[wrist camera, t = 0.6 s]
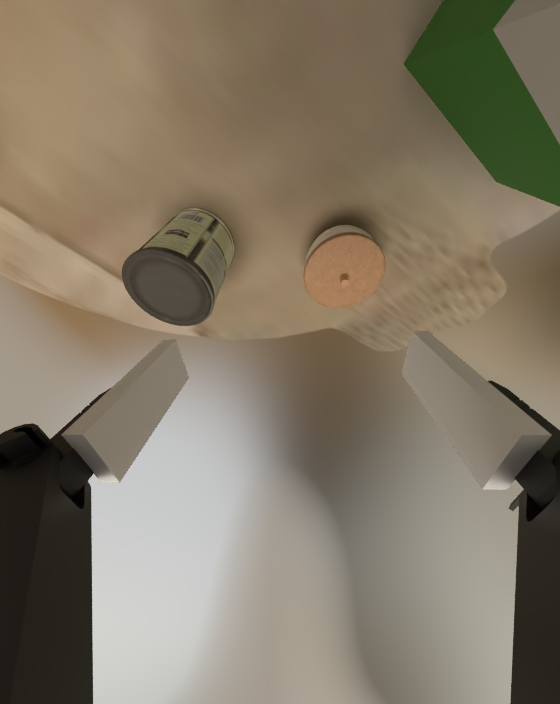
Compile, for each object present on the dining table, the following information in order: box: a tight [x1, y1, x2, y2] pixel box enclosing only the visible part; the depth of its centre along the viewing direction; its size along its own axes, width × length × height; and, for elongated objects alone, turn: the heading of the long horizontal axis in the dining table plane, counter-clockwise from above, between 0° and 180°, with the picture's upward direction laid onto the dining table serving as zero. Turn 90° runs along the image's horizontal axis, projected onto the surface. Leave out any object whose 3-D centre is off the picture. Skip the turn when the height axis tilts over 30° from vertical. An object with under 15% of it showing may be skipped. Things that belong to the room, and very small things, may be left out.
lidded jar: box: [304, 225, 385, 308], centre depth 32 cm, size 11×11×9 cm
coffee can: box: [122, 208, 235, 326], centre depth 31 cm, size 10×10×14 cm
